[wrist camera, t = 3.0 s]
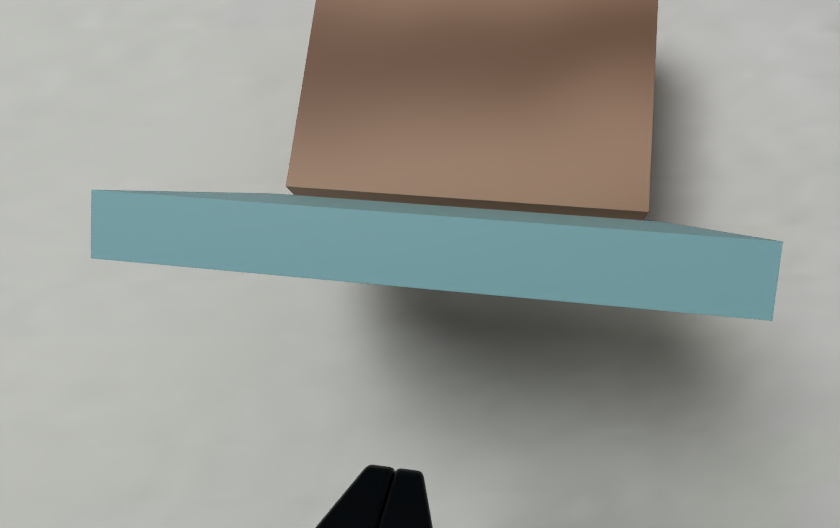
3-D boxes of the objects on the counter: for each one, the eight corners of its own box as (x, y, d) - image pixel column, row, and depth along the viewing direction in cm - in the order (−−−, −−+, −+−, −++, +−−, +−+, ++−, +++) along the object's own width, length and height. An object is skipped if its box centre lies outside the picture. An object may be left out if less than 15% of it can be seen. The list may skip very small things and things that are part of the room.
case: (612, 258, 20) (648, 212, 15) (334, 235, 21) (285, 186, 16) (623, 55, 21) (660, -48, 16) (362, 45, 23) (324, -53, 18)
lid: (659, 221, 15) (654, 264, 15) (274, 193, 16) (272, 233, 16) (782, 241, 8) (772, 320, 8) (91, 189, 9) (90, 257, 9)
